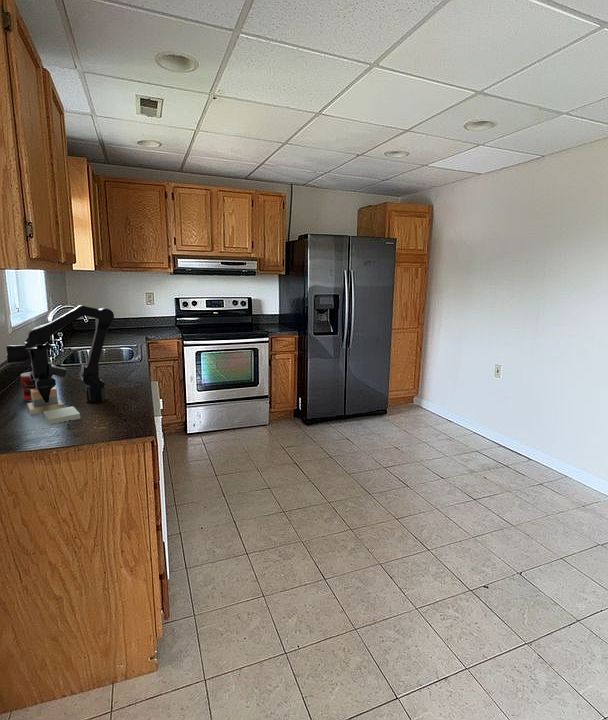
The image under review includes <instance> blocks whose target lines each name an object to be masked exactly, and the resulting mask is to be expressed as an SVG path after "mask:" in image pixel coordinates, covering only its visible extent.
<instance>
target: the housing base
mask: <svg viewBox="0 0 608 720" xmlns="http://www.w3.org/2000/svg"><path fill="white" fill-rule="evenodd" d="M31 399H32V397H31ZM31 403H32V405H33V406H34V408H35V407H41V406H47V405H53V404H58V395H57V396H56V397H50V398H49V402H47V403H45V401H44V400H43V399H37V400H33V399H32V401H31Z"/></svg>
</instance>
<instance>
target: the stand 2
mask: <svg viewBox="0 0 608 720" xmlns="http://www.w3.org/2000/svg"><path fill="white" fill-rule="evenodd" d="M42 414H43V418H44V417H45V418H44V419H45V421H46V420H47V421H46V422H47V424H48V423H49V424H50V425H55V424H54V423H56V424H60V423H59V422H61V423H64V421H66V422H70V421H69V420H71V421H75V420H81V413H80V412H79V411H78V410H77V409H76V407H75V406H68V407H67V406H66V407H64V408H60V409H54V410H48V411H43V413H42ZM49 424H48V425H49Z"/></svg>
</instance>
